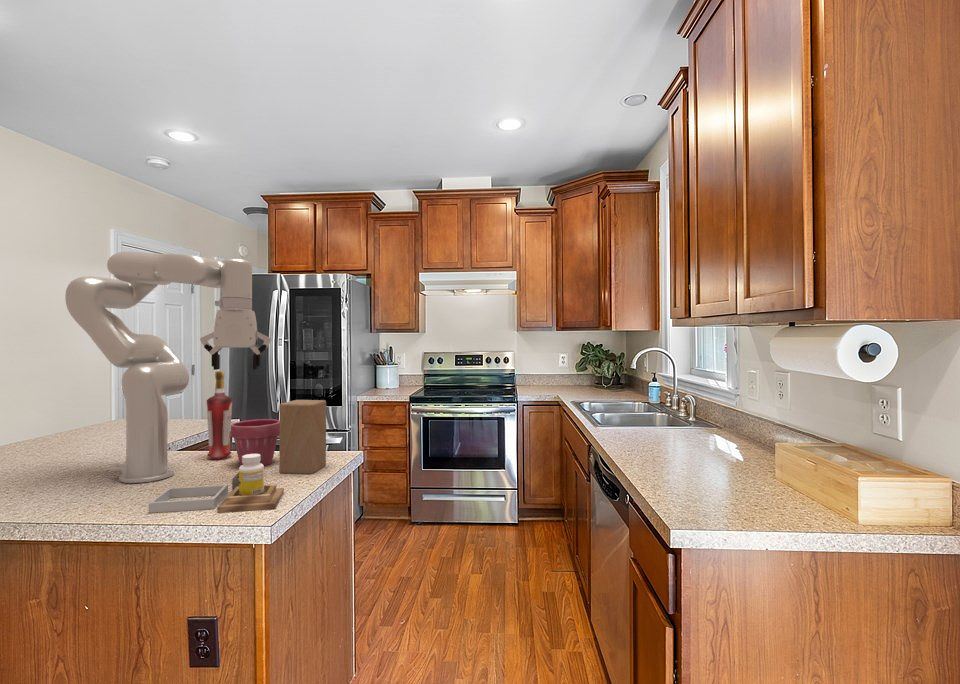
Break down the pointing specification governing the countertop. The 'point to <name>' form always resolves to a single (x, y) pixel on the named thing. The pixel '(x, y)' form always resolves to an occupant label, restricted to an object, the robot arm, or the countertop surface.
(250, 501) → the brown wooden square tray
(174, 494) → the frame
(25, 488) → the countertop surface
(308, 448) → the wooden block
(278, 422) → the plant pot
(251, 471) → the supplement bottle
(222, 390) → the liquor
